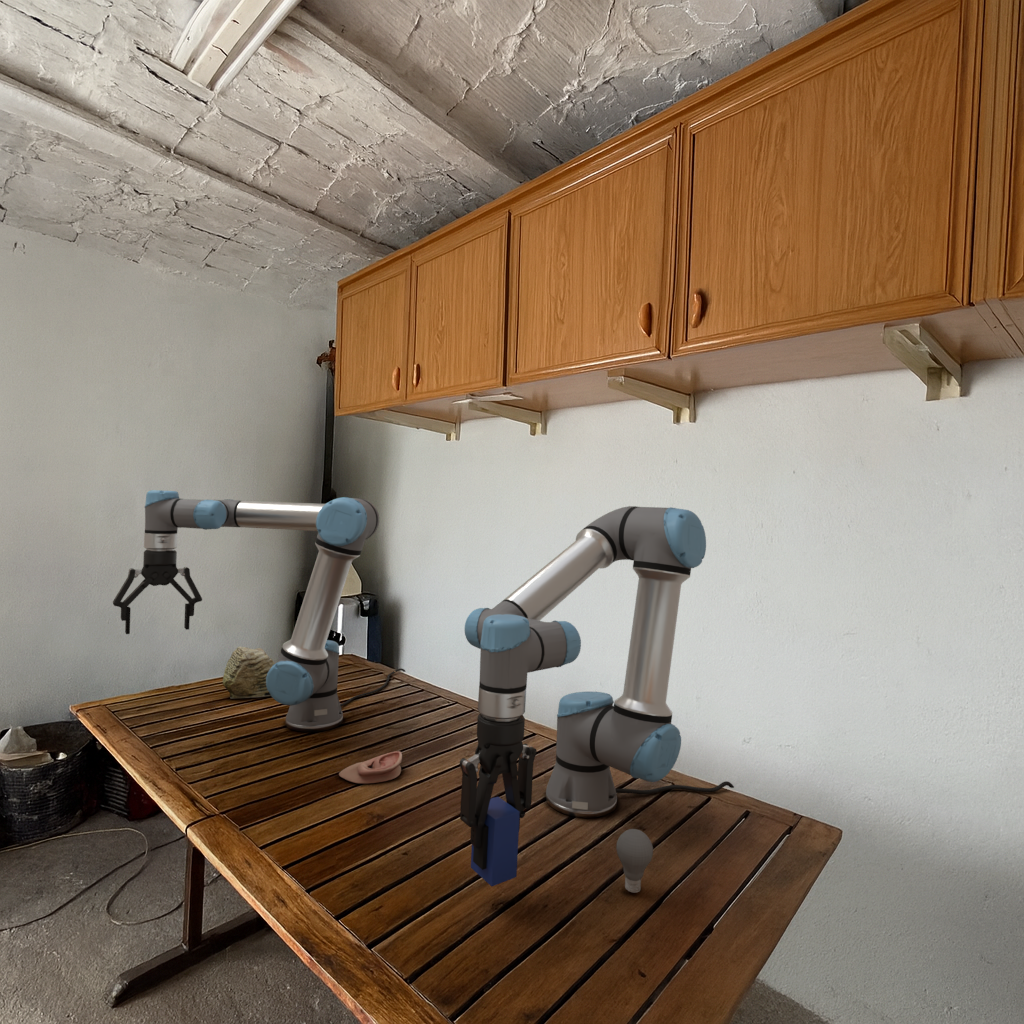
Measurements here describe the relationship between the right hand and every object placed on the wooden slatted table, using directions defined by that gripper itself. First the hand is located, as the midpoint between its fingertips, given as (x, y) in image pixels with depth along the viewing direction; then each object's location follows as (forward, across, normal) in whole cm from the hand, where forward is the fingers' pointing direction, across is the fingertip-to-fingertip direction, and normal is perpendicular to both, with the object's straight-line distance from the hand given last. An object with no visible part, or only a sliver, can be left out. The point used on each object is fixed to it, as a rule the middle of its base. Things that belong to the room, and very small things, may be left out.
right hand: (494, 859), depth 101 cm
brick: (+2, 0, 0) cm, 2 cm away
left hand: (-19, -35, +106) cm, 113 cm away
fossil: (+7, -5, +124) cm, 125 cm away
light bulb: (+7, +22, -10) cm, 25 cm away
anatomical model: (+7, +3, +54) cm, 54 cm away
